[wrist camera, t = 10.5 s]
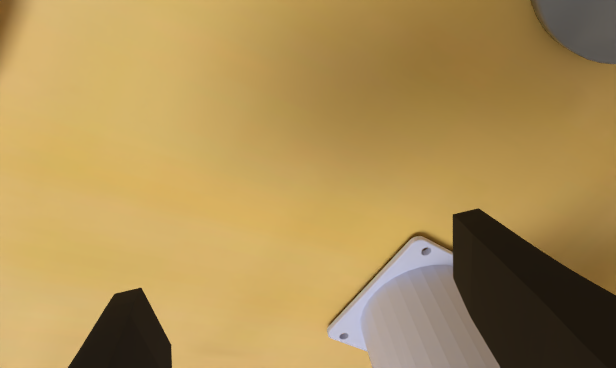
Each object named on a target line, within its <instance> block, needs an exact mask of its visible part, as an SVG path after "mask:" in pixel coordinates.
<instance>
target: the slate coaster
mask: <svg viewBox="0 0 616 368" xmlns="http://www.w3.org/2000/svg"><path fill="white" fill-rule="evenodd" d="M531 3H532V6H533V9H534V11H535V13H536V16H537V18H538V20H539V21H540V23H541V24H542V26H543V28H544V29H545V31H546V32H547V33H548V34H549V35H550V36H551V37H552V38H553V39H554V40H555V41H556V42H558V43H559V44H560V45H562V46H563V47H565V48H567V49H568V50H570V51H572V52H574V53H576V54H578V55H580V56H582V57H584V58H586V59H589V60H592V61H596V62H599V63H607V64H616V0H531Z"/></svg>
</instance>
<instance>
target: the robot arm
mask: <svg viewBox="0 0 616 368" xmlns="http://www.w3.org/2000/svg"><path fill="white" fill-rule="evenodd" d="M427 247H428V248H427ZM424 248H427V249H426V250H423V249H424ZM327 333H328V336H329V337H330V338H331V339H334V340H337V341H340V342H342V343H345V344H348V345H351V346H354V347H356V348H359V349H362V350H365V351H367V352H368V354H369V358H370V361H371V364H372V367H373V368H616V295H614V294H612V293H610V292H608V291H607V290H605V289H603V288H601V287H600V286H598V285H596V284H594V283H593V282H591V281H589V280H587V279H586V278H584V277H582V276H580V275H579V274H577V273H575V272H574V271H572V270H570V269H569V268H567V267H565V266H564V265H562V264H561V263H559V262H558V261H556V260H554V259H553V258H551V257H550V256H548V255H547V254H545V253H544V252H542V251H540V250H539V249H537V248H536V247H534V246H533V245H531V244H530V243H528V242H527V241H525V240H524V239H522V238H521V237H520V236H518V235H517V234H515V233H514V232H512V231H511V230H509V229H508V228H506V227H505V226H504V225H502V224H501V223H499V222H498V221H496V220H495V219H493V218H492V217H490V216H489V215H488V214H486V213H485V212H483V211H482V210H480V209H474V210H470V211H466V212H462V213H457V214H453V252H452V251H450V250H448V249H446V248H444V247H442V246H440V245H438V244H436V243H434V242H432V241H431V240H429V239H427V238H425V237H422V236H416V237H413V238H412V239H410V240H409V241H408V242H407V243H406V245H405V246H404V247H403V248H402V249H401V250H400V251H399V252H398V253H397V254H396V255H395V256H394V257H393V258H392V259H391V260H390V262H389V263H388V264H387V265H386V266H385V267H384V268H383V269H382V270H381V271H380V272H379V273H378V274H377V275H376V276H375V277H374V279H373V280H372V281H371V282H370V283H369V284H368V285H367V286H366V287H365V288H364V289H363V290H362V291H361V292H360V293H359V294H358V296H357V297H356V298H355V299H354V300H353V301H352V302H351V303H350V304H349V305H348V306H347V307H346V308H345V309H344V310H343V311H342V313H341V314H340V315H339V316H338V317H337V318H336V319H335V320H334V321H333V322H332V323H331V324H330V325H329V326H328V328H327ZM343 333H344V334H343ZM68 368H172V359H171V344H170V342H169V340H168V338H167V336H166V334H165V332H164V330H163V329H162V327H161V325H160V323H159V321H158V319H157V317H156V315H155V313H154V311H153V309H152V307H151V305H150V303H149V302H148V300H147V298H146V296H145V294H144V292H143V290H142V288H138V289H134V290H129V291H125V292H121V293H117V294H114V296H113V297H112V299H111V300H110V302H109V303H108V305H107V306H106V308H105V310H104V311H103V313H102V314H101V316H100V318H99V319H98V321H97V322H96V324H95V326H94V327H93V329H92V331H91V332H90V334H89V335H88V337H87V339H86V340H85V342H84V343H83V345H82V347H81V348H80V350H79V351H78V353H77V355H76V356H75V358H74V359H73V361H72V362H71V364H70V365H69V367H68Z"/></svg>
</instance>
